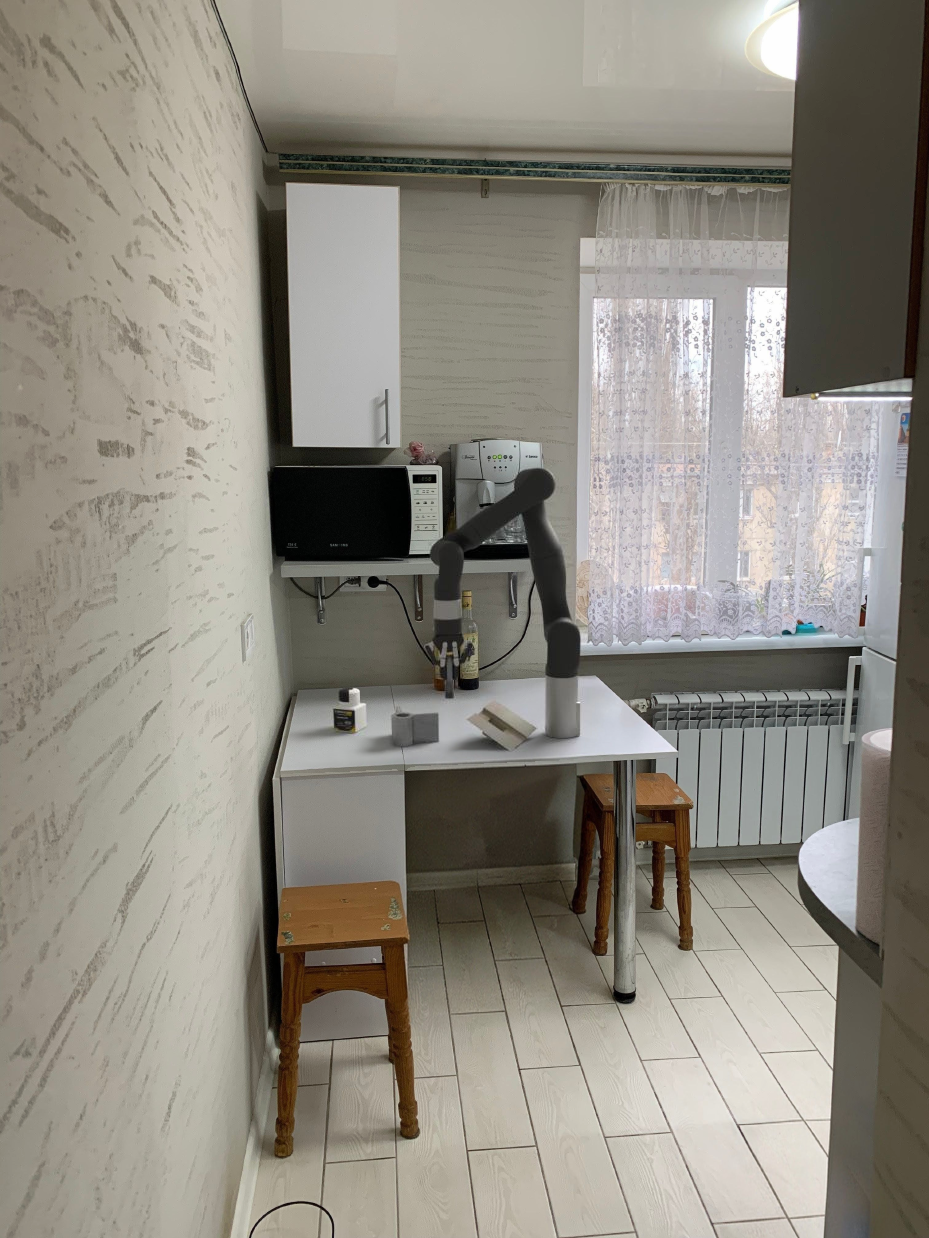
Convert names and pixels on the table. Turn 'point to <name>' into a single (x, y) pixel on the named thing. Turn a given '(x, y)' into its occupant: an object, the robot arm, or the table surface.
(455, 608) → the robot arm
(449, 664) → the pin
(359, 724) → the medicine bottle
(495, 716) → the beige folded piece
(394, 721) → the hinge
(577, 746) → the table surface
